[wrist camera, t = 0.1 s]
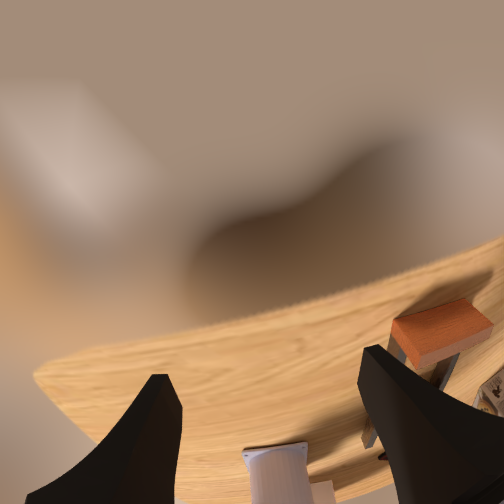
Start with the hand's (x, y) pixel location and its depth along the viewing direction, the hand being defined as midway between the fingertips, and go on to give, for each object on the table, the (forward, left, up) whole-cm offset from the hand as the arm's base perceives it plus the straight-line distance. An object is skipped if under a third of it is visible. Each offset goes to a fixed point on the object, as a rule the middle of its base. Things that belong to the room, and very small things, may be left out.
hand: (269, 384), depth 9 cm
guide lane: (-16, -16, -10) cm, 25 cm away
